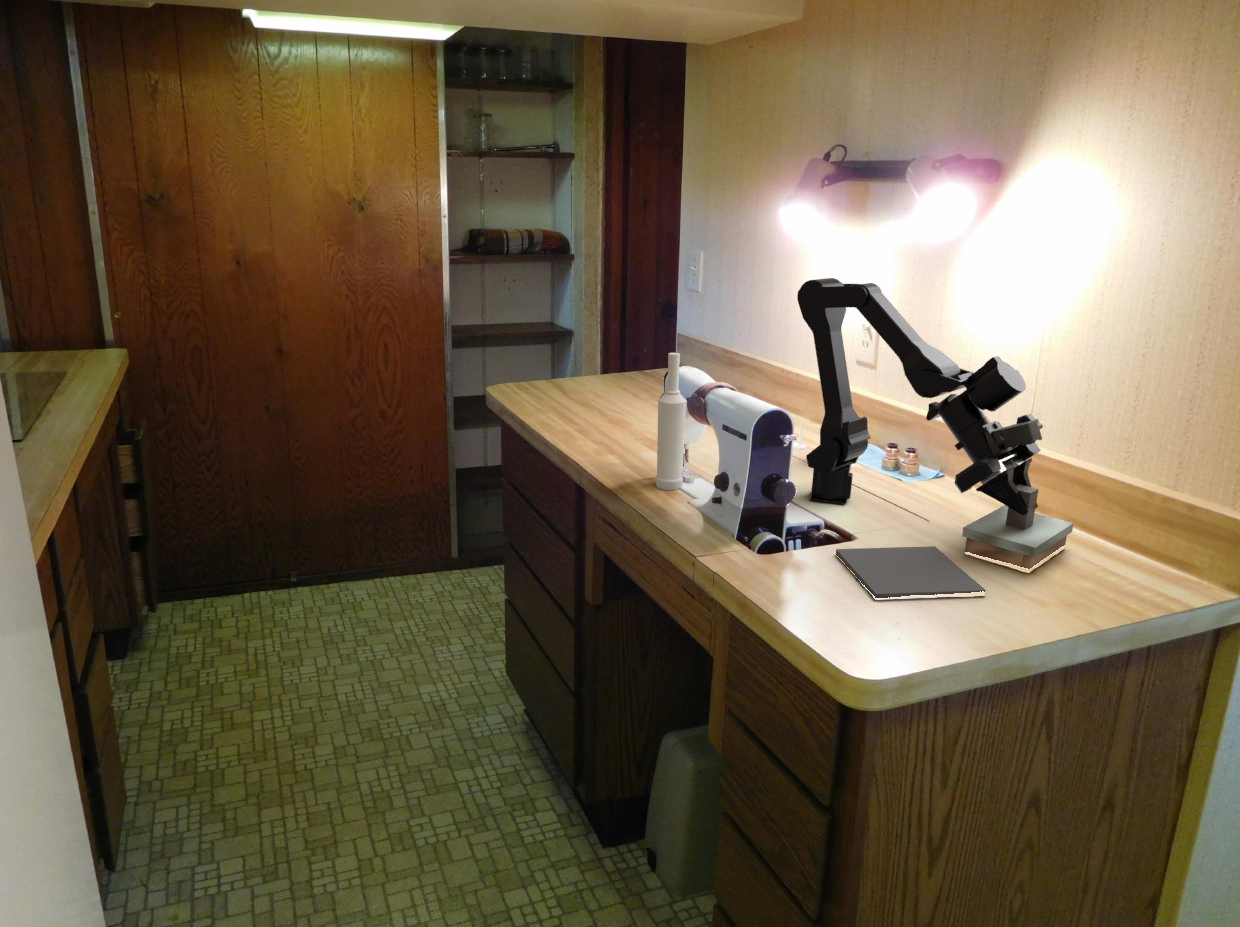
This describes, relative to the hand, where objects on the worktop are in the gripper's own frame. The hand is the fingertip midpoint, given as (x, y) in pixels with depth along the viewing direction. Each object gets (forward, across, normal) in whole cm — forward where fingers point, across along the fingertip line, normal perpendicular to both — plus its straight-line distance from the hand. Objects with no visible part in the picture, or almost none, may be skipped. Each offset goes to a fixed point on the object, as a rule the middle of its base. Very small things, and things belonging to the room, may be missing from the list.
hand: (1030, 511), depth 142 cm
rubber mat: (-1, -21, +11) cm, 24 cm away
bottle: (-36, -17, +47) cm, 62 cm away
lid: (+2, 0, +4) cm, 4 cm away
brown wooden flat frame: (+4, 0, +6) cm, 7 cm away
